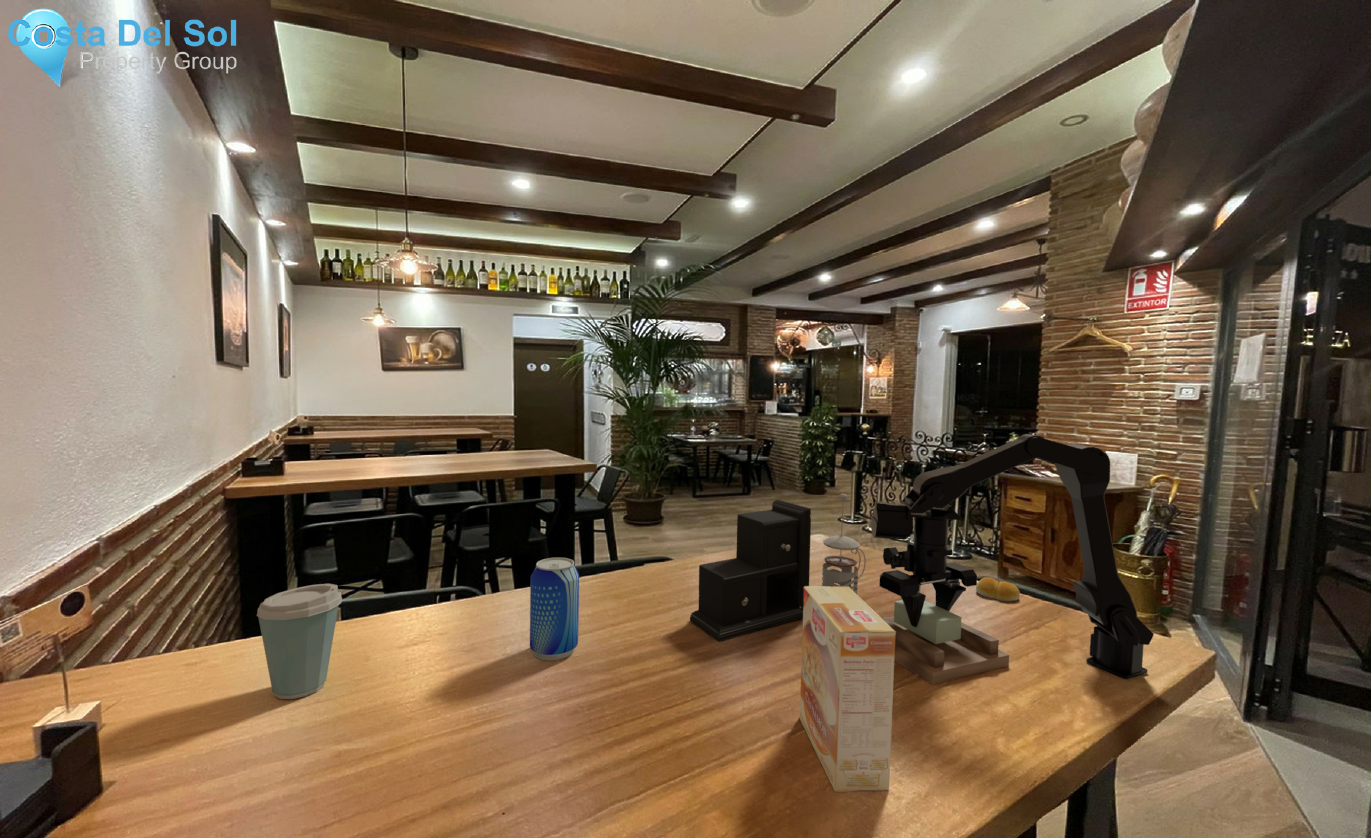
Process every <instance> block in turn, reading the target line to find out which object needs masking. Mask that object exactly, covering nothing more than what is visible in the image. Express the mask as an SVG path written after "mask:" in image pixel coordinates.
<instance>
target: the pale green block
mask: <svg viewBox="0 0 1371 838" xmlns="http://www.w3.org/2000/svg"><path fill="white" fill-rule="evenodd" d="M893 616H894V622H896V623H897V624H899V625H901V626H903V627H905V628H907V629H909V630H910V631H912V632H914V633H916V634H918V635H920V636H922V637H923V638H925V639H927V640H929V641H931V642H933V643H935V644H939V643H944V642H948V641H953V640H958V639H961V622H962V616H960V615H958V614H955V613H953V612H951V611H947V610H945V609H942V608H940V607H938V606H936V604H933V603H932V602H929V601H927V600H925V601H924V605H923V608H922V612H921V616H920V619H919V622H918V625H917V627H913V626H912V625H911V624H910V621H909V617H908V614H907V611H906V608H905V605H904V603H903V600H902V599H900V600H896V601H894V609H893Z"/></svg>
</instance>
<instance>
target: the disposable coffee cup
mask: <svg viewBox="0 0 1371 838" xmlns="http://www.w3.org/2000/svg"><path fill="white" fill-rule="evenodd" d="M338 589H339V588H338V585H337V584H333V583H323V584H322V583H319V584H311V585H305V586H300V587H295V588H291V589H287V590H284V591H280V592H277V593H275V594H273V595H270V596H269V597H267V598H265V599H264V601H262V602H261V603H260V604H259V607H258V608H257V612H256V613H257V614H256V617H258V622H259V627H260V633H261V637H262V642H263V648H264V649H263V650H264V654H265V660H266V665H267V670H268V674H269V675H268V676H269V679H270V686H271V691H272V693H274V696H275V697H276V698H278V699H280V700H294V699H299V698H305V697H306V696H310V695H311V694H314V693H316V692H318V691H319V690H320V689H322V688H324V686H325V682H326V681H327V677H328V671H329V665H330V660H331V654H332V653H331V652H332V646H333V643H334V642H333V640H334V635H335V628H336V625H337V618H338V610H339V605H341V603H342V602H343V601H342V600H343V597H342V592H341V591H338Z"/></svg>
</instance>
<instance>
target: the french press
mask: <svg viewBox="0 0 1371 838" xmlns="http://www.w3.org/2000/svg"><path fill="white" fill-rule="evenodd" d="M838 499H839V500H842V501H841V502H842V503H841V507H842V508H841V526H840V527H841V531H840V532H841V534H840V535H831V536H829V537H827V538H825V539H823V541H822V542H823V545H824V546H826V547H827V548H831V549H835V550H839V551H840V555H830V556H829V555H828V556H825V558H824V562H825V563H823V564H822V573H821V574H822V578H821V581H822V583H821V586H830V587H850V588H851V589H852V590H853V591H854V592H855V593H856V594H857V595H858V588H859V587H858V582H859V581H858V580H859V579H860V578H861V577H862V576H863V574H864V572H865V570H866V563H867V561H866V555H865V552H864V551H863V550H862V549H860V546H861V544H860V543H859V542H858V541H856V539H854V538H851V537H849V536H847V535H843V521H844V520H843V519H844V500H848V495H847V494H845V493H841V494H839V495H838ZM853 550H855V552H853ZM842 551H850V553H852V554H853V555H857V553H858V557H859V559H858V562H859V563H858V562H857V560H855V559H854V558H852V557H847V556H842ZM860 552H861V553H862V555H863V559H864V563H863V564H864V565H863V569H862V572H861V574H860V575H859V570H860V567H861V554H860ZM857 564H858V567H857V566H856V565H857ZM831 567H836V568H839V569H841V570H839V569H835V568H831ZM828 568H831V569H828ZM853 568H854V569H853ZM852 579H853V580H852Z"/></svg>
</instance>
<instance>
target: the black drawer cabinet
mask: <svg viewBox="0 0 1371 838" xmlns="http://www.w3.org/2000/svg"><path fill="white" fill-rule="evenodd" d="M811 510H812V508H811V507H807V506H803V505H801V504H800V505H799V504H796V503H791V502H789V501H785V500H781V499H775V500H773V502H772V505H771V509H767V510H760V511H759V510H758V511H752V512H751V511H750V512H744V513H738V514H737V518H736V519H737V522H736V554H735V555H736V557H734V558H730V559H724V560H718V561H713V562H708V563H703V564H702V563H701V564H699V566H698V609H697V610H695V611H693V612H691V614H690V617H689V621H690V622H691V623H692V624H694V625H695V626H697V627H698V628H699V629H701V630H702V631H704V632H705V633H706V634H707V635H709V636H711V637H712V638H713V639H715V640H716V641H717V642H722V641H725V640H729V639H732V638H736V637H740V636H743V635H747V634H749V633H754V632H758V631H762V630H765V629H768V628H772V627H776V626H779V625H784V624H786V623H790V622H794V621H796V620H801V619H803V601H804V586H810V573H811V572H810V564H811V536H812V535H811V534H812V533H811V529H812V518H811V514H812V511H811Z"/></svg>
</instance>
